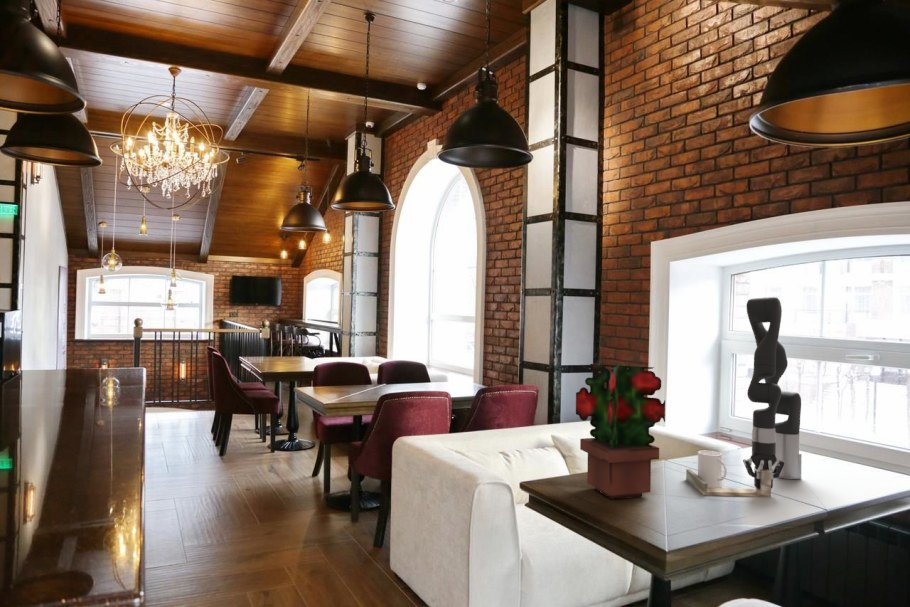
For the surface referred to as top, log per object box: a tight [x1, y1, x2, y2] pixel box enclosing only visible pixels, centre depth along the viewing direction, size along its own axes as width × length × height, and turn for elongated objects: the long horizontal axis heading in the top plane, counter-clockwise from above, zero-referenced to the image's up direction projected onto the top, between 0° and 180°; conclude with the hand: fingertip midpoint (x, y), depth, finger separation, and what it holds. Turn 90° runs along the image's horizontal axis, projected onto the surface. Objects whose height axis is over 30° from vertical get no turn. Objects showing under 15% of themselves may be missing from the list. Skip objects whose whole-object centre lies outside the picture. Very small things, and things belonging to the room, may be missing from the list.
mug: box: [697, 449, 728, 488], centre depth 227 cm, size 12×8×12 cm
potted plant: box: [575, 363, 666, 500], centre depth 218 cm, size 22×22×45 cm
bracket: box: [685, 468, 772, 498], centre depth 224 cm, size 23×19×9 cm
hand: (763, 488), depth 217 cm, fingers closed on bracket, 3 cm apart
